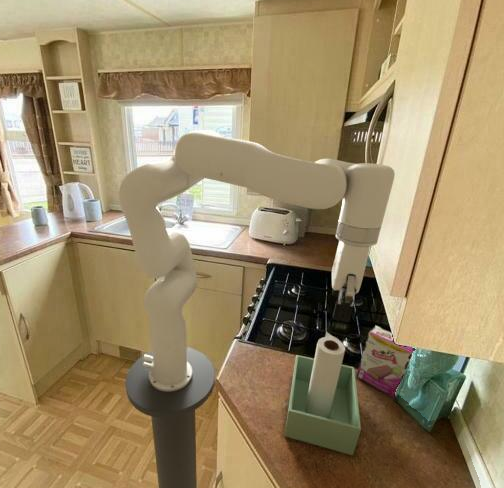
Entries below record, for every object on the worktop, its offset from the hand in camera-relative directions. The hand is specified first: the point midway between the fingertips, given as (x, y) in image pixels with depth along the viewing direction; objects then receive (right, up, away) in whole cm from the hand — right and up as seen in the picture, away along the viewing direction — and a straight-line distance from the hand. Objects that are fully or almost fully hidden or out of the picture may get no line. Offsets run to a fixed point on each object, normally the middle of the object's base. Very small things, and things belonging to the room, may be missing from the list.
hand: (339, 307), depth 67 cm
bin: (0, -29, +13) cm, 32 cm away
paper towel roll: (-1, -28, +13) cm, 31 cm away
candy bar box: (+19, -25, +22) cm, 39 cm away
